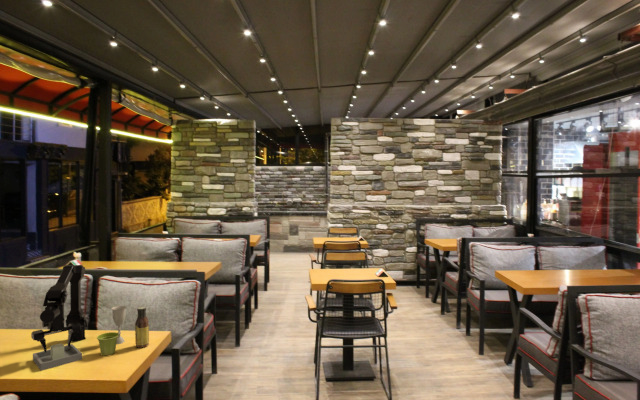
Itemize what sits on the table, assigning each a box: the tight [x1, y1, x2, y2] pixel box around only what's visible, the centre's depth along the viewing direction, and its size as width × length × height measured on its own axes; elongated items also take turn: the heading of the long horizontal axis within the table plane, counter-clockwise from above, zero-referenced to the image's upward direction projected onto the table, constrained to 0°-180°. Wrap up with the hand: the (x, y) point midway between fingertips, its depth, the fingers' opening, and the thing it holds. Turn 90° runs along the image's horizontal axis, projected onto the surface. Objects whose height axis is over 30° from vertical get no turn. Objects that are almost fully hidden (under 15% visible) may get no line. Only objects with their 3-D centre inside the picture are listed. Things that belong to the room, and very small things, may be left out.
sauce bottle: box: [134, 306, 150, 349], centre depth 200 cm, size 7×6×20 cm
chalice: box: [111, 305, 127, 345], centre depth 205 cm, size 7×7×18 cm
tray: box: [32, 343, 83, 371], centre depth 184 cm, size 16×16×3 cm
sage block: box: [49, 342, 65, 360], centre depth 184 cm, size 4×4×6 cm
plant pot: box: [96, 331, 119, 356], centre depth 191 cm, size 9×9×9 cm
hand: (57, 349), depth 184 cm, fingers open, 9 cm apart
